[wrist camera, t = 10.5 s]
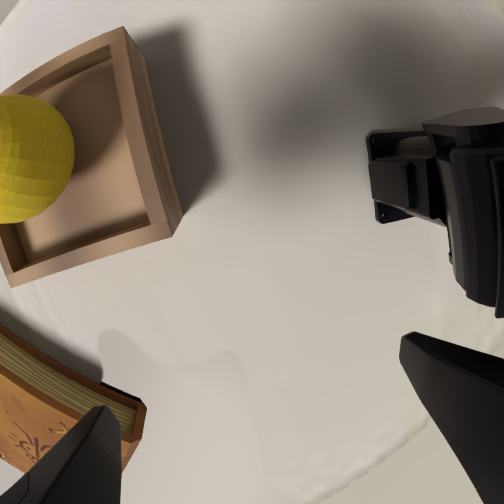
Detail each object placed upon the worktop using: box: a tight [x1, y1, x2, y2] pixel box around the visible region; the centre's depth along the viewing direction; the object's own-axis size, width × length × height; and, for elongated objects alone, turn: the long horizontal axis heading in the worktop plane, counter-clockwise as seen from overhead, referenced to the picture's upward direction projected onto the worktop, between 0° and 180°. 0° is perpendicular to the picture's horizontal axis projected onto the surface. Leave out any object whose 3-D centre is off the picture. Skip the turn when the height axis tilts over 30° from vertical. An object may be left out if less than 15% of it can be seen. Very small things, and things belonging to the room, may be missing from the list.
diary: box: [0, 324, 147, 473], centre depth 20 cm, size 23×19×6 cm
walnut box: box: [0, 26, 183, 288], centre depth 14 cm, size 11×11×6 cm
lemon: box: [0, 94, 75, 224], centre depth 8 cm, size 6×6×8 cm
